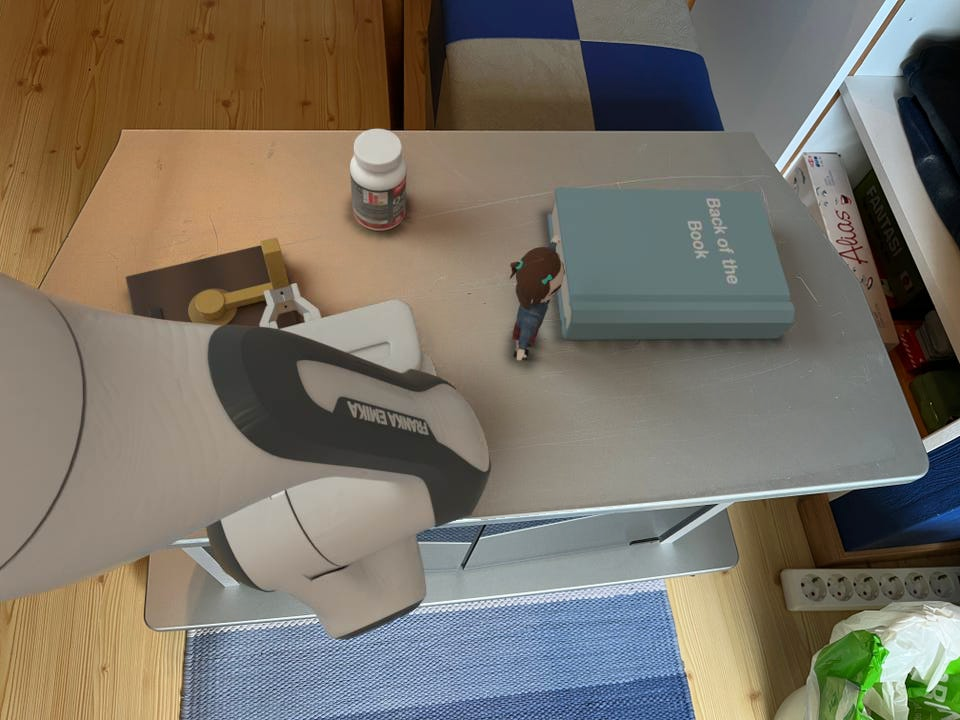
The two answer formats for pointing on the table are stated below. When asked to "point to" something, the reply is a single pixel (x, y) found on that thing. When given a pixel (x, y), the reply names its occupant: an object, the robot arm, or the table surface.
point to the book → (668, 265)
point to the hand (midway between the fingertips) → (280, 290)
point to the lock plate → (203, 289)
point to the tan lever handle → (216, 303)
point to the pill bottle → (378, 180)
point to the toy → (535, 292)
